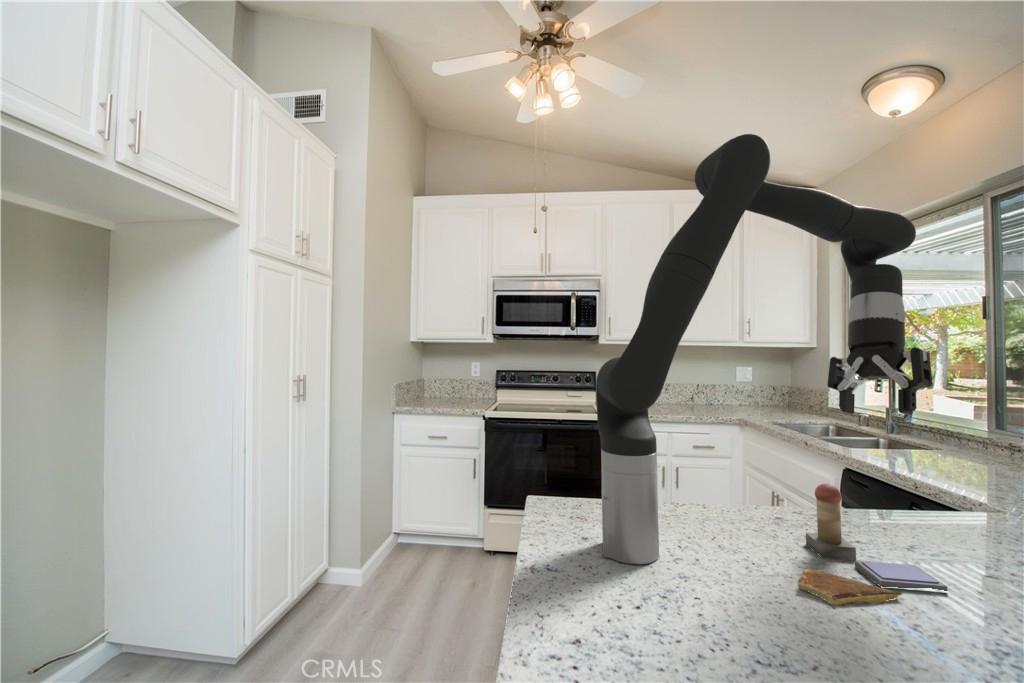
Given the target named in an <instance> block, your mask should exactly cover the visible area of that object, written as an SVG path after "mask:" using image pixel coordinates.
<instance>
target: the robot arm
mask: <svg viewBox="0 0 1024 683" xmlns="http://www.w3.org/2000/svg"><path fill="white" fill-rule="evenodd" d="M771 158H772V156H771V151H770V147H769V145H768V143H767V141H766V140H765V139H764V138H763V137H762V136H760V135H757V134H752V133H744V134H740V135H737V136H735V137H733V138H731V139H729V140H727V141H725V142H724V143H723V144H722V145H720V146H719V147H717V149H715V150H714V151H713V152H711V153H710V154H709V155H708V156H706V157H705V158H704V159H703V160H702V161H701V162H700V163H699V165H698V166H697V167H696V170H695V174H694V183H695V187H696V189H697V191H698V193H699V194H700V195H701V196H703V197H702V199H701V202H699V204H698V206H696V208H695V210H694V212H692V214H691V215H690V216H689V218H688V219H687V220H686V221H685V222H684V223H683V224H682V226H681V227H680V228H679V229H678V231H677V232H676V233H675V234H674V236H673V237H672V238H671V240H670V241H669V243H667V244H668V245H667V246H666V247H665V249H664V251H663V252H662V253H661V254H660V257H659V260H658V262H657V264H656V266H655V268H654V270H653V272H652V274H651V276H650V278H649V281H648V284H647V288H646V292H645V296H644V301H643V306H642V307H643V308H642V312H641V317H640V319H639V324H638V325H637V328H636V329H635V332H634V334H633V335H632V337H631V339H630V341H629V343H628V345H627V346H626V347H625V349H624V351H623V352H622V354H621V356H619V357H614V358H611V359H609V360H607V361H606V362H604V363H603V364H602V366H601V367H600V369H599V371H598V373H597V377H596V383H595V384H596V385H595V389H596V390H595V393H596V396H595V397H596V416H597V417H596V419H597V429H598V434H599V438H600V450H601V451H600V452H601V453H600V455H601V456H600V457H601V461H600V462H601V526H602V528H601V529H602V535H601V536H602V557H604V558H609V559H612V560H615V561H617V562H621V563H625V564H628V565H629V564H630V565H646V564H651V563H653V562H655V561H656V560H658V559H659V557H660V538H659V535H660V534H659V533H660V532H659V530H660V528H659V495H658V494H659V493H658V489H659V487H658V457H657V456H658V455H657V453H658V450H657V446H658V445H657V437H656V434H655V432H654V430H653V428H652V425H651V423H650V417H649V409H650V408H651V407H652V406H653V405H654V404H655V403H656V402H657V400H658V399H659V397H660V395H661V393H662V391H663V388H664V385H665V382H666V380H667V377H668V375H669V371H670V368H671V366H672V363H673V360H674V357H675V354H676V352H677V349H678V347H679V345H680V342H681V340H682V338H683V336H684V334H685V333H686V331H687V329H688V326H689V325H690V323H691V321H692V318H693V317H694V316H695V313H696V311H697V309H698V307H699V305H700V303H701V302H702V300H703V298H704V296H705V294H706V292H707V290H708V287H709V286H710V284H711V282H712V279H713V277H714V275H715V273H716V271H717V268H718V267H719V264H720V262H721V259H722V257H723V256H724V254H725V252H726V250H727V247H729V246H728V245H729V243H730V241H731V240H732V237H733V236H734V232H735V230H736V228H737V227H738V224H739V222H740V221H741V219H742V217H743V216H744V214H745V212H746V211H747V212H751V213H754V214H758V215H761V216H764V217H767V218H771V219H773V220H777V221H780V222H783V223H786V224H788V225H790V226H793V227H796V228H798V229H800V230H803V231H805V232H807V233H809V234H811V235H813V236H816V237H818V238H820V239H821V240H824V241H827V242H831V243H840V242H841V245H840V253H841V255H842V259H843V262H844V264H845V267H846V270H847V272H848V275H849V279H850V284H851V285H850V303H849V308H848V324H847V325H848V326H847V329H848V332H847V333H848V334H847V335H848V336H847V346H848V349H849V354H848V356H847V357H836V356H832V357H830V359H829V366H828V376H827V377H828V378H827V387H828V388H829V389H832V390H836V391H837V392H838V393H839V394H838V395H839V396H838V398H839V399H838V407H839V409H840V410H841V412H842V413H845V414H847V415H854V414H855V400H856V399H855V397H856V396H855V395H856V394H855V393H854V392H855V391H856V390H857V389H858V387H860V386H862V385H863V384H864V383H866V381H867V380H868V381H875V380H878V379H881V380H890V379H892V380H893V381H894V383H896V384H897V385H898V386H899V389H898V390H897V394H898V396H897V398H898V399H897V400H898V401H897V403H898V404H897V405H898V406H897V407H898V408H897V409H898V413H900V414H902V415H909V416H910V415H913V412H916V410H917V391H918V390H920V389H923V388H930V387H932V386H933V384H934V383H933V373H932V364H931V356H930V352H929V351H927V350H925V349H922V348H919V347H913V348H911V349H910V350H907V351H905V347H906V322H905V321H906V313H905V305H904V300H903V298H904V297H903V295H904V294H903V292H904V291H903V273H902V271H901V269H900V268H899V267H898V266H896V265H893V264H889V263H888V264H887V263H878V264H877V261H878V260H881V259H884V258H885V257H888V256H891V255H894V254H897V253H899V252H901V251H904V250H906V249H907V248H909V247H910V246H911V245H912V244H913V243H914V241H915V240H916V236H917V231H916V227H915V225H914V223H913V222H912V221H911V219H908V217H906V216H904V215H903V214H901V213H898V212H896V211H891V210H886V209H882V208H875V207H870V206H861V205H855V204H853V203H851V202H849V201H847V200H845V199H842V198H841V197H839V196H836V195H834V194H832V193H829V192H827V191H823V190H819V189H815V188H814V189H813V188H809V187H802V186H792V185H784V184H778V183H776V182H775V183H774V182H771V181H768V180H765V179H766V178H767V176H768V173H769V171H770V169H771V168H770V167H771V160H772V159H771ZM907 361H908V362H909V363H911V364H910V365H911V374H912V379H911V376H909V374H907V372H905V370H903V369H902V366H903V365H905V363H906V362H907ZM848 366H849V367H850V368H849V369H848ZM846 370H847V371H846ZM856 375H857V376H856Z"/></svg>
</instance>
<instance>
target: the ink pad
mask: <svg viewBox="0 0 1024 683" xmlns="http://www.w3.org/2000/svg"><path fill="white" fill-rule="evenodd" d="M854 567H855V569H857V570H858V571H859V572H861V573H862V574H863V575H864V574H865V575H864V576H866V577H867V576H868V577H869V578H870V579H869V578H868V577H867V578H868V579H869V580H871V579H872V580H873V581H875V582H876V583H877V584H879V585H880V586H882V587H898V588H932V589H938V590H944V591H949V590H948V585H947V584H944V582H942V581H940V580H939V579H937V578H935V577H934V576H933V575H930V574H929V573H928V572H926V570H925V571H924V570H923V569H922V568H920V567H919V566H917V565H916V564H907V563H893V562H879V561H866V560H857V559H856V560H854ZM872 580H871V581H872ZM873 581H872V582H873ZM876 583H875V584H876ZM877 584H876V585H877Z"/></svg>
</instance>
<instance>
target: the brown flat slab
mask: <svg viewBox="0 0 1024 683" xmlns="http://www.w3.org/2000/svg"><path fill="white" fill-rule="evenodd" d="M797 586H798V587H797V588H798V589H799V590H800V589H802V590H801V591H803V590H806V591H809V592H808V593H810V592H811V593H814V594H817V595H818V596H820V597H822V598H823V599H825V600H826V602H827V601H828V602H827V603H829V604H830V603H831V605H832V604H833V606H835V605H837V606H840V605H845V604H850V603H851V602H853V603H851V604H856V603H855V602H872V603H884V602H883V601H886V600H889V599H894V598H897V599H898V597H899V596H902V595H903V593H902V592H900V591H899V592H898V591H894V590H892V589H890V590H889V589H888V588H880V587H879V586H875V585H871V584H868V583H865V582H862V581H859V580H855V579H852V578H847V577H844V576H842V575H841V576H840V575H837V574H833V573H829V572H826V571H821V570H816V569H813V568H806V569H805V568H804V570H802V573H801V575H800V578H799V579H798V581H797ZM806 591H805V592H806ZM811 593H810V594H811ZM814 594H813V595H814ZM818 596H817V597H818ZM820 597H819V598H820ZM822 598H821V599H822ZM823 599H822V600H823ZM825 600H824V601H825ZM847 602H848V603H847Z"/></svg>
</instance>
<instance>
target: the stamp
mask: <svg viewBox="0 0 1024 683" xmlns="http://www.w3.org/2000/svg"><path fill="white" fill-rule="evenodd" d="M814 497H815V500H816V520H817V522H816V523H817V526H816V527H817V533H816V532H805V545H806V544H807V546H808V548H810V547H811V548H812V549H813V550H814V551H815V552H816V553H815V552H814V551H813V550H812V549H811V548H810V549H811V550H812V551H813V552H814V553H815V554H817V555H818V554H819V555H820V556H821V557H823V558H822V559H834V560H846V561H849V560H850V561H855V560H856V561H857V550H856V549H857V547H855V546H854V545H853V544H851V543H850V542H848V541H847V540H846V539H845V538H843V537H842V519H841V518H842V516H841V502H842V494H841V491H840V490H839V488H837V487H836V486H834V485H832V484H829V483H822V484H819V485H817V486H816V488H815V490H814ZM819 555H818V556H819ZM820 556H819V557H820ZM821 557H820V558H821Z"/></svg>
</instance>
